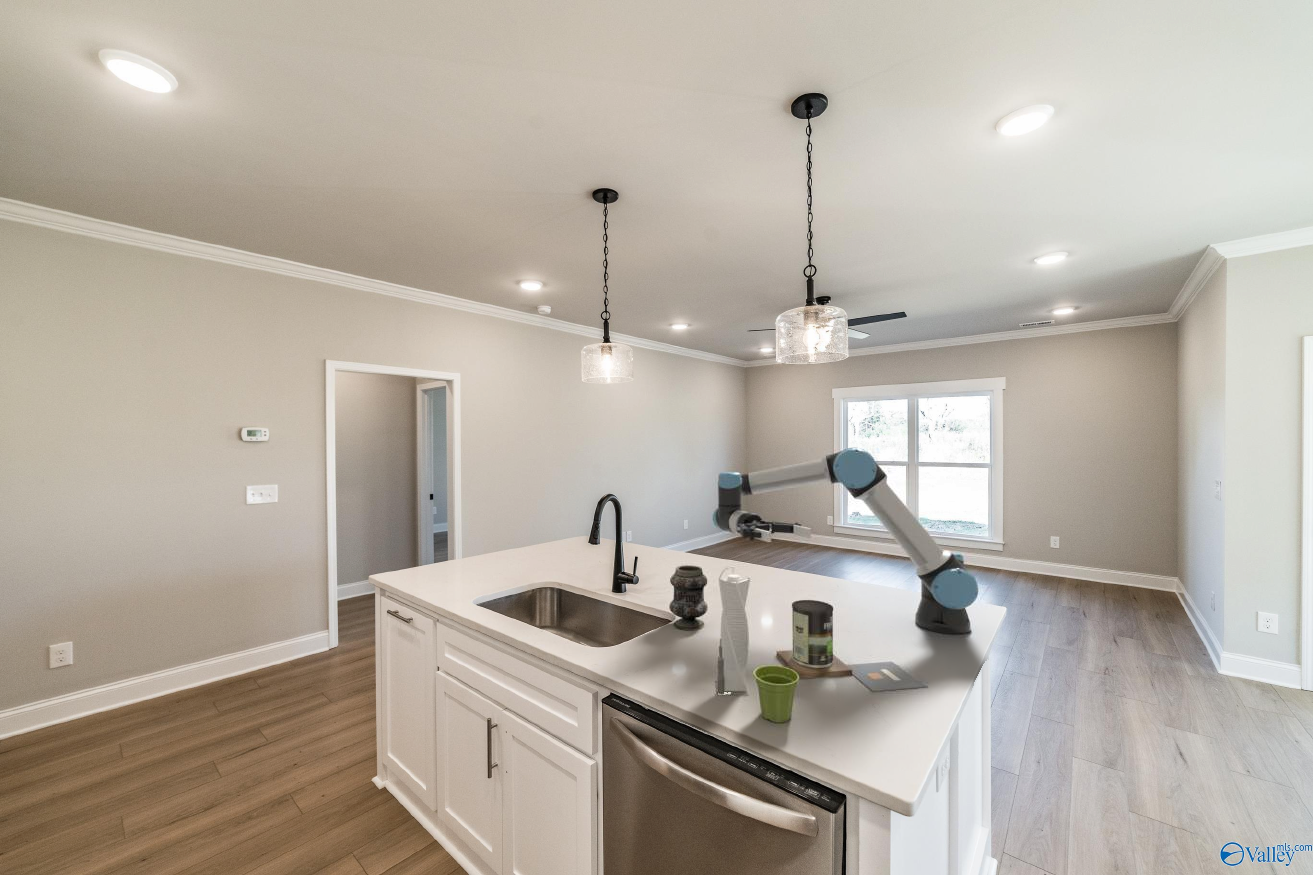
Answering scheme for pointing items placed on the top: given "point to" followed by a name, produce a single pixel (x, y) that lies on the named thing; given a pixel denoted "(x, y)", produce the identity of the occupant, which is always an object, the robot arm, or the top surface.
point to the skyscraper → (733, 635)
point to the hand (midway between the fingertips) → (790, 535)
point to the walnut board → (807, 672)
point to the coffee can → (812, 633)
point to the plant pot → (776, 691)
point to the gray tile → (884, 676)
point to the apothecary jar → (688, 597)
